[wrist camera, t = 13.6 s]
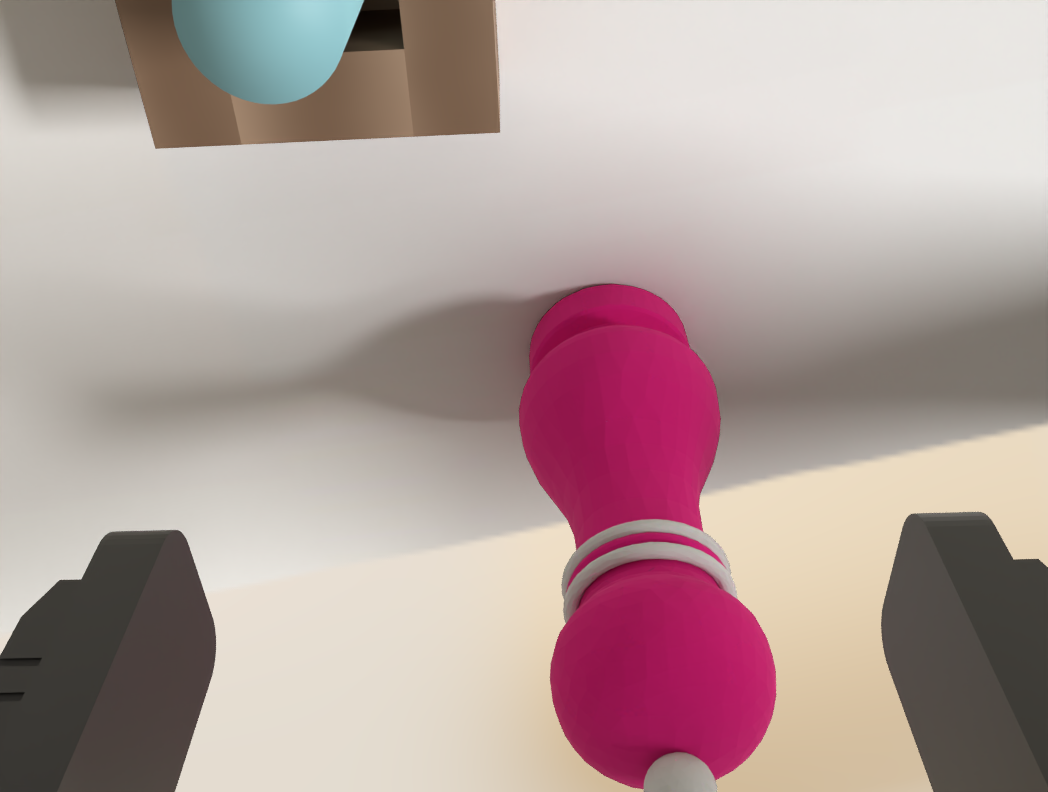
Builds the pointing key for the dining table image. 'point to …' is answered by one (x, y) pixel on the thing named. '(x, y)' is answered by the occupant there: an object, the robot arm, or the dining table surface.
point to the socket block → (332, 79)
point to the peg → (265, 44)
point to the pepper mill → (641, 548)
